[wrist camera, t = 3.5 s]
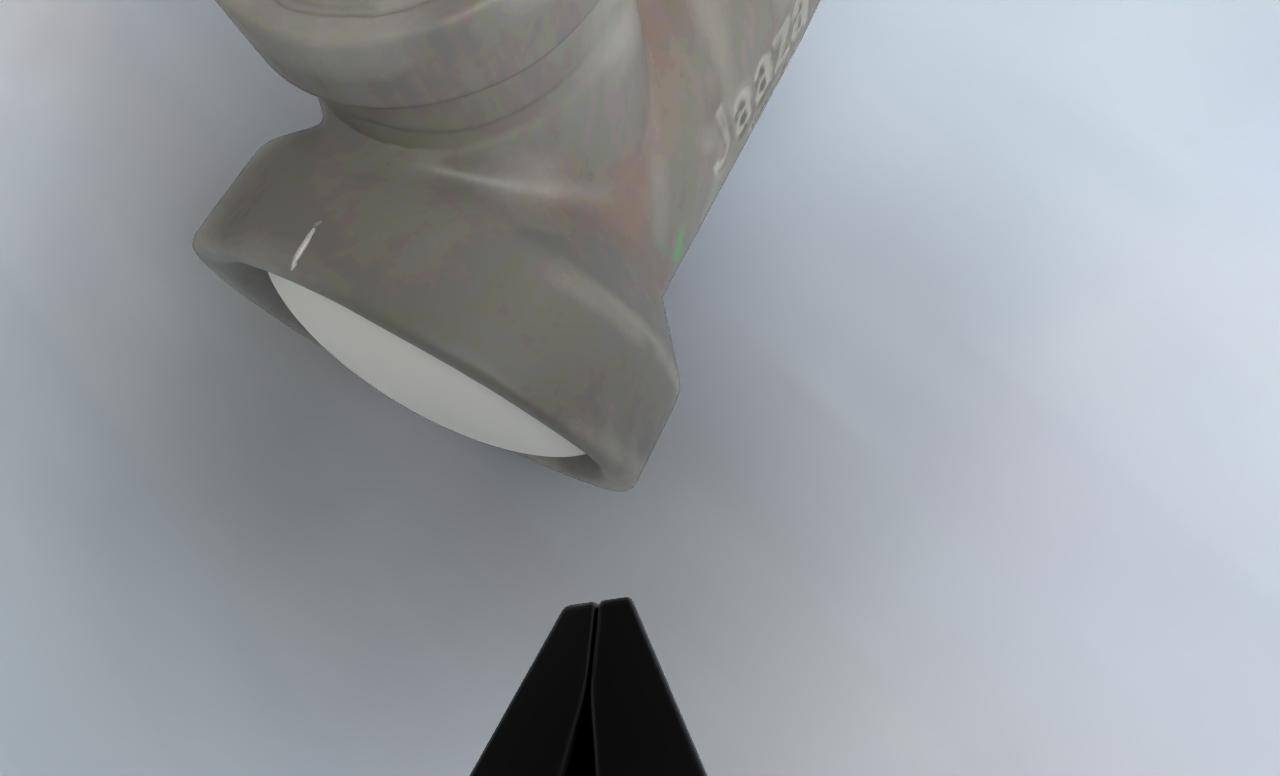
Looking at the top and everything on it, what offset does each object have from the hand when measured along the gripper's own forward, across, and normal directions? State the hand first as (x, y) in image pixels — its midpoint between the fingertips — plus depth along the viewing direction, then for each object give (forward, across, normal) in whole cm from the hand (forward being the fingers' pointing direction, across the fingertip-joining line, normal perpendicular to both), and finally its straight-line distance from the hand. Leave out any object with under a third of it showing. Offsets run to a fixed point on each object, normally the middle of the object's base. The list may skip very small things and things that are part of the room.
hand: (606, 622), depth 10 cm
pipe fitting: (+11, 0, -1) cm, 11 cm away
